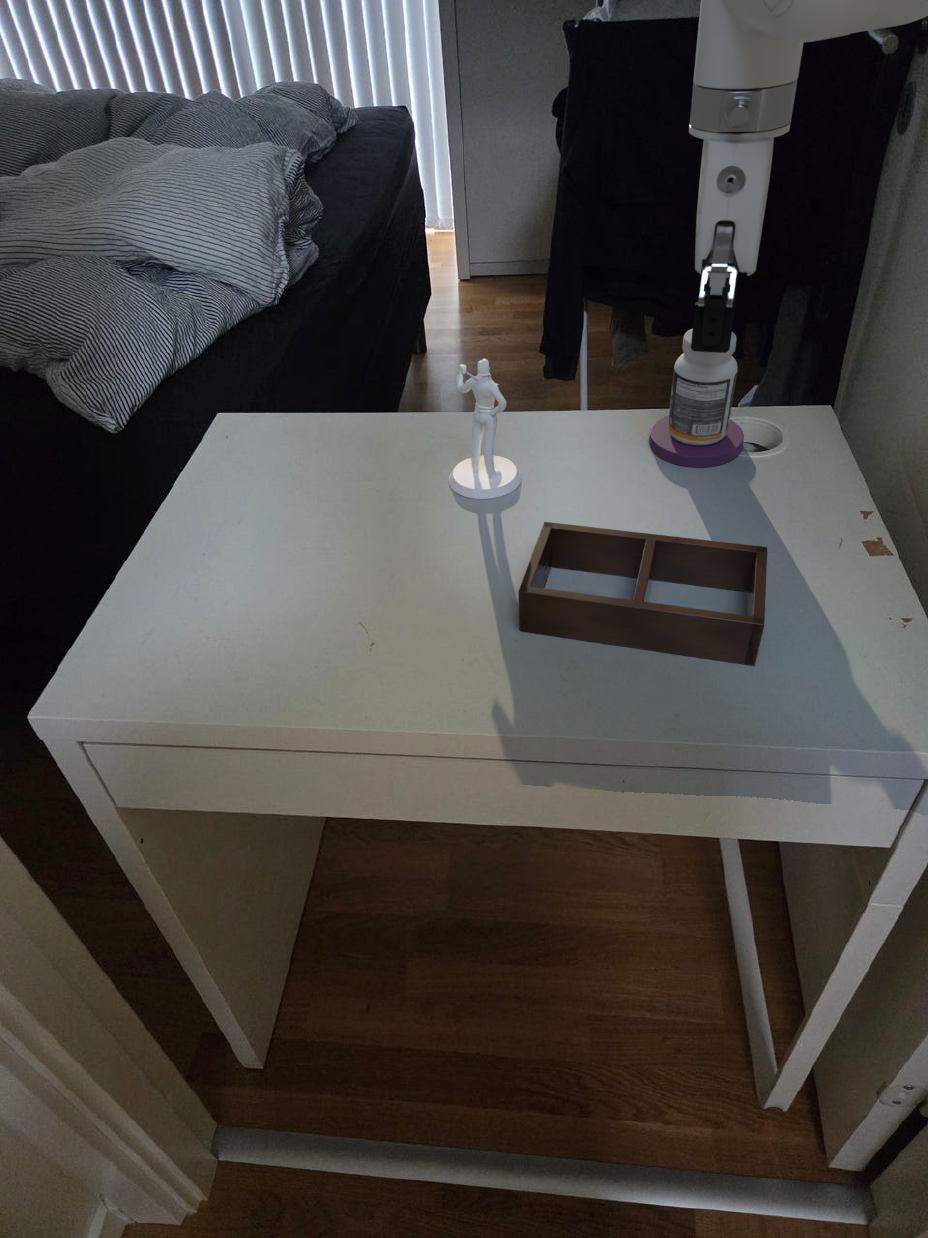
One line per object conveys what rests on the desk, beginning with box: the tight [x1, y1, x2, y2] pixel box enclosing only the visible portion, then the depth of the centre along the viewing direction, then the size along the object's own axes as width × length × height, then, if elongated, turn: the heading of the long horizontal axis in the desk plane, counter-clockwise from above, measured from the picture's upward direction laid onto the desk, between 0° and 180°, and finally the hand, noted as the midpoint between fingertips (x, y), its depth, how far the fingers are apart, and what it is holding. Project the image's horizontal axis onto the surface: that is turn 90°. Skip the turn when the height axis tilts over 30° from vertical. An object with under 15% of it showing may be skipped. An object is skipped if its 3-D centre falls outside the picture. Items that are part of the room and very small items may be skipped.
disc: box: [648, 414, 745, 468], centre depth 83 cm, size 9×9×1 cm
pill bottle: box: [668, 328, 738, 446], centre depth 79 cm, size 6×6×10 cm
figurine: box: [448, 358, 523, 500], centre depth 77 cm, size 7×7×12 cm
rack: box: [517, 521, 769, 667], centre depth 64 cm, size 17×9×4 cm, turn 74°
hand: (713, 328), depth 75 cm, fingers open, 9 cm apart
